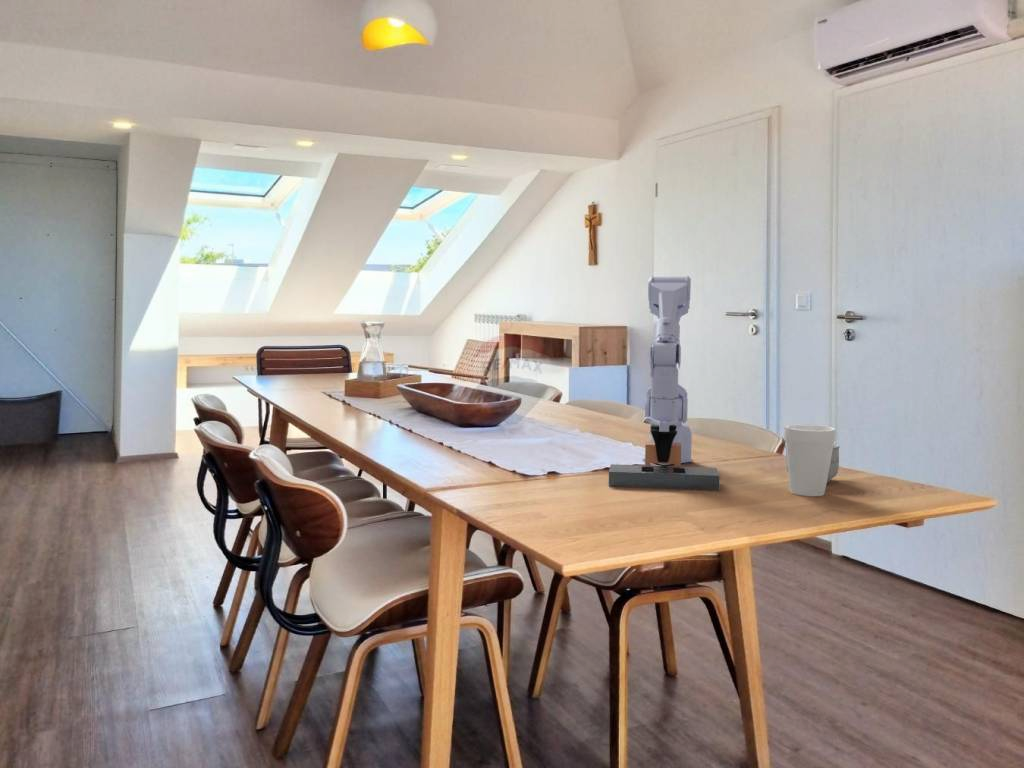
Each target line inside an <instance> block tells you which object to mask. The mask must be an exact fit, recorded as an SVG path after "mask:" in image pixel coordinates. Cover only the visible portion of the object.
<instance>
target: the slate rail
mask: <svg viewBox="0 0 1024 768" xmlns="http://www.w3.org/2000/svg"><path fill="white" fill-rule="evenodd" d="M609 466H610V467H609V471H608V487H624V488H645V489H646V488H647V489H671V490H672V489H673V490H675V489H676V490H694V491H695V490H696V491H699V490H700V491H716V492H717V491H720V473H719V471H718V468H716V467H699V466H698V467H695V466H694V467H692V466H691V467H690V466H681V467H675V466H669V465H667V466H666V465H651V466H645V464H643V465H642V464H641V465H638V464H637V465H636V464H616V463H615V464H613V463H612V464H610V465H609Z"/></svg>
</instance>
